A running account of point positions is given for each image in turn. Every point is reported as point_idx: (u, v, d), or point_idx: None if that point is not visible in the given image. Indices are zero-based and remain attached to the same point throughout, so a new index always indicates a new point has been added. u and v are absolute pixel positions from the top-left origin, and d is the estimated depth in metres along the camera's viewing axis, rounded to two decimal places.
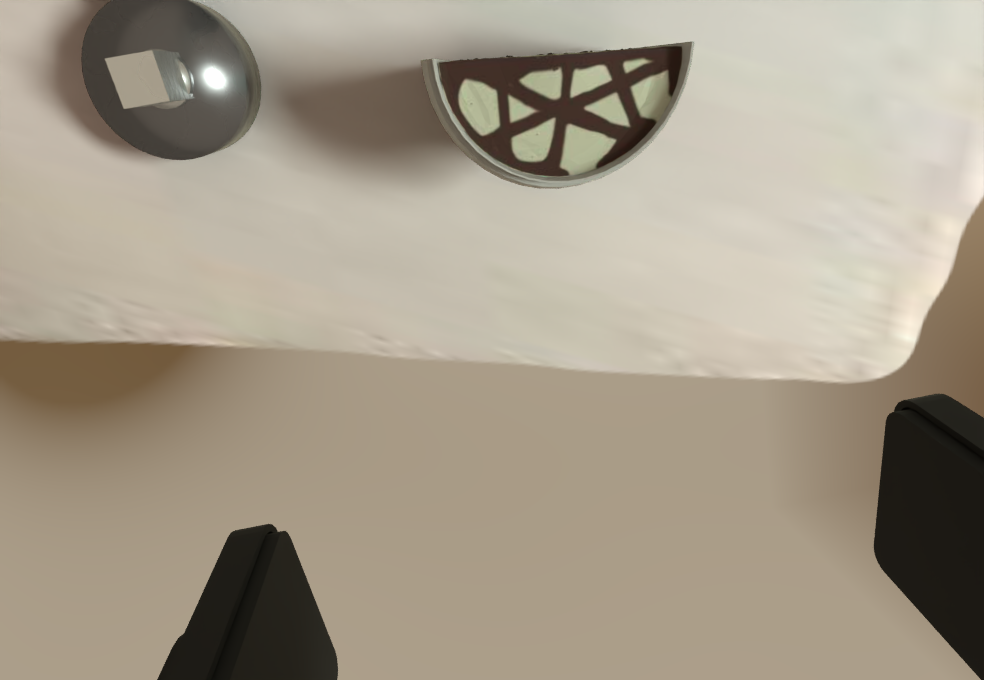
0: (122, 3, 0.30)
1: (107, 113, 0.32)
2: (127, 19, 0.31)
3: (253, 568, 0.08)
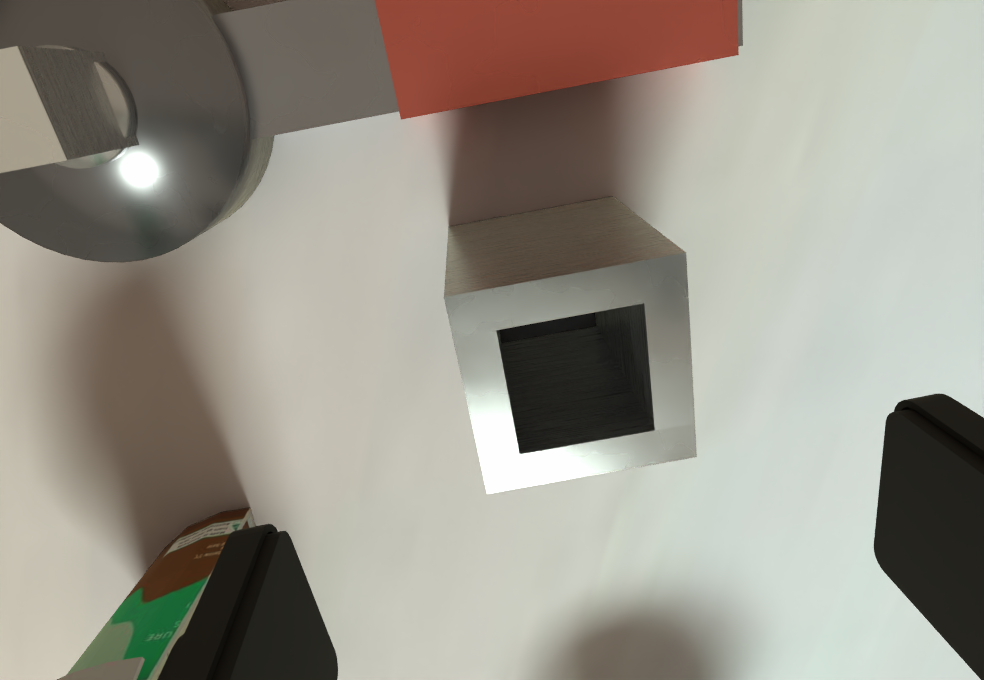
0: (208, 47, 0.15)
1: None
2: (180, 51, 0.15)
3: (253, 568, 0.08)
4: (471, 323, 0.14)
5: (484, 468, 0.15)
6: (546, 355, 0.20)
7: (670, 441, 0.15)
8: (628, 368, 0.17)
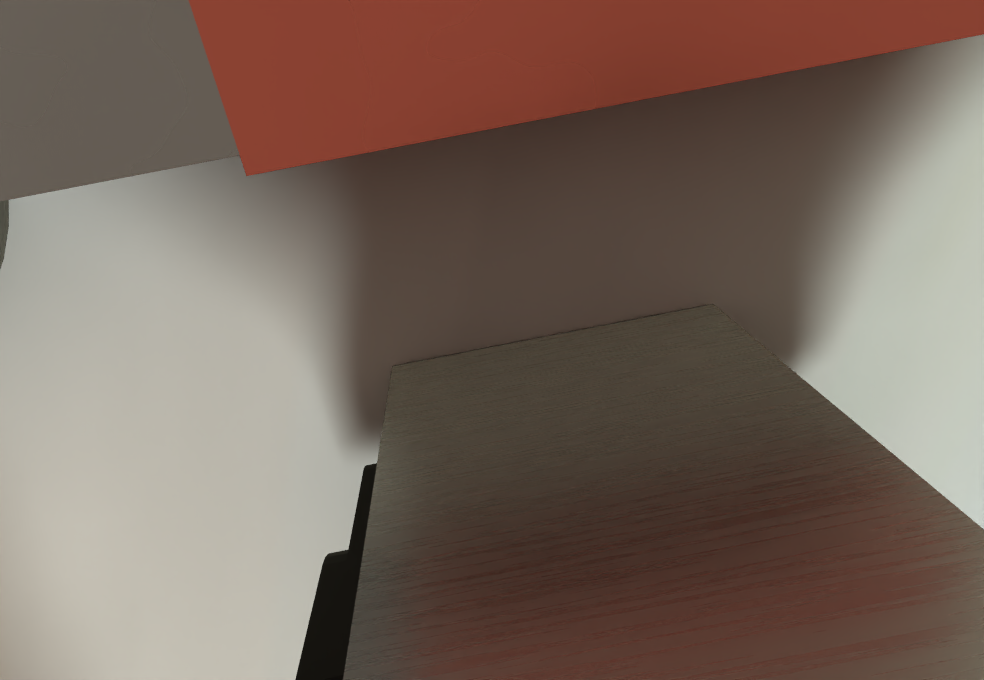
0: None
1: None
2: None
3: None
4: None
5: None
6: None
7: None
8: None
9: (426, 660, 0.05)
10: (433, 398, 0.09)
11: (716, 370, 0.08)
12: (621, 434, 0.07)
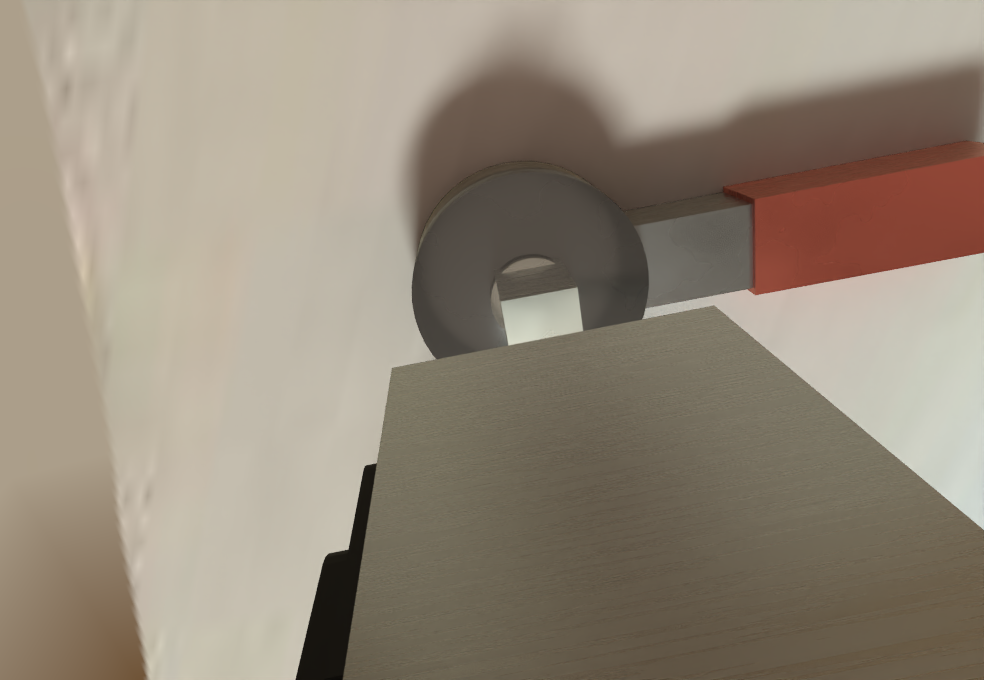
0: (635, 252, 0.20)
1: (481, 198, 0.19)
2: (614, 255, 0.20)
3: None
4: None
5: None
6: None
7: None
8: None
9: (425, 667, 0.05)
10: (433, 400, 0.09)
11: (718, 372, 0.08)
12: (622, 437, 0.07)
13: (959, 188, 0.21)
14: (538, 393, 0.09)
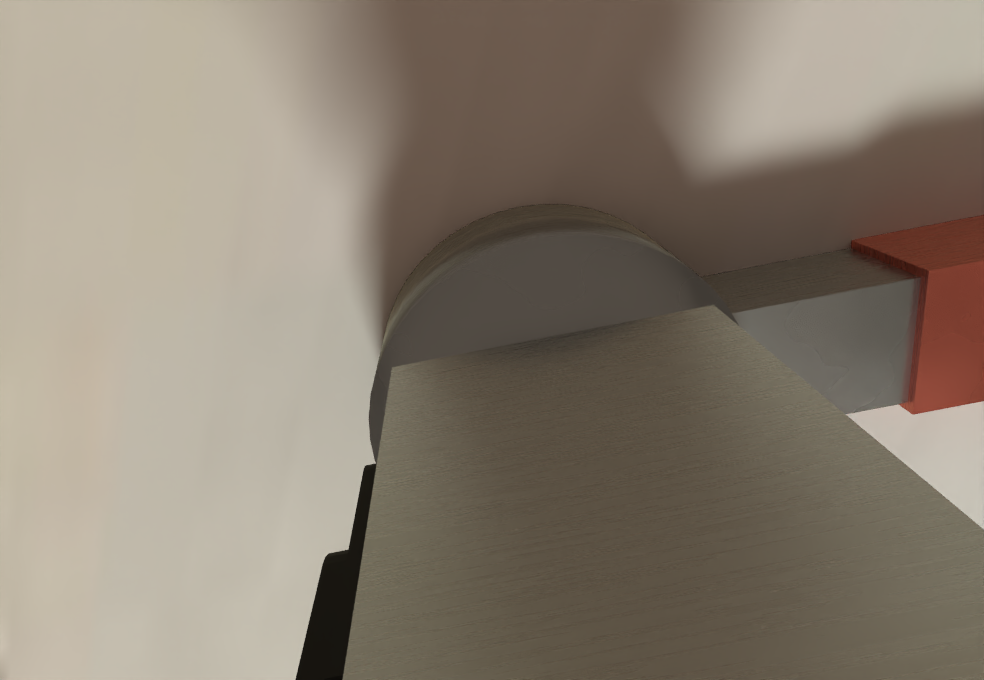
0: None
1: (482, 277, 0.11)
2: None
3: None
4: None
5: None
6: None
7: None
8: None
9: (425, 664, 0.05)
10: (433, 399, 0.09)
11: (717, 371, 0.08)
12: (621, 436, 0.07)
13: None
14: (538, 392, 0.09)
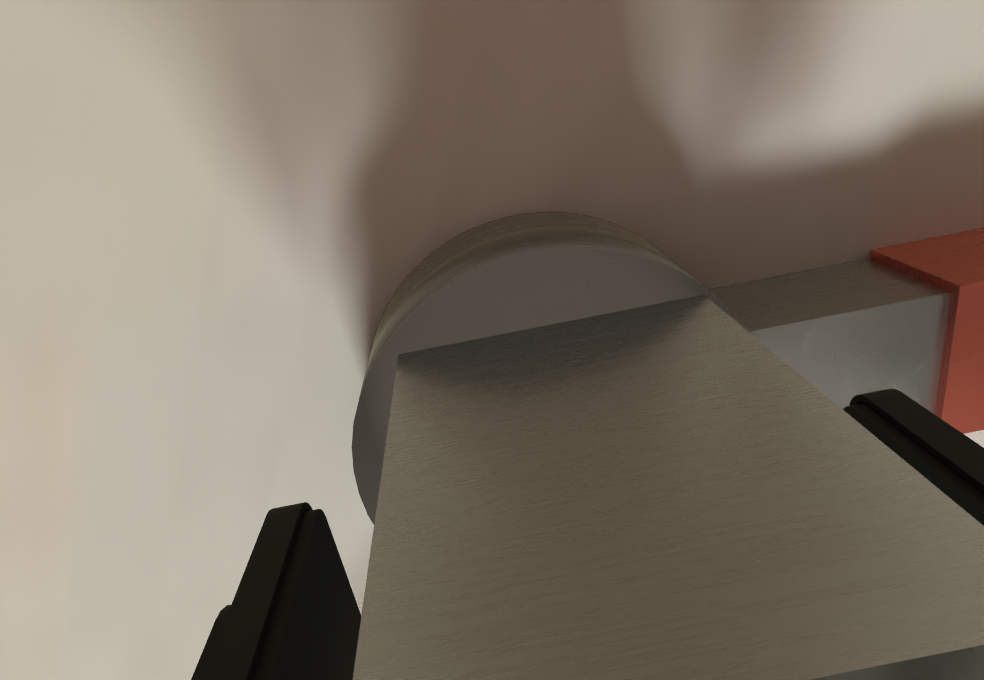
0: None
1: (475, 295, 0.10)
2: None
3: (294, 543, 0.08)
4: None
5: None
6: None
7: None
8: None
9: (435, 610, 0.05)
10: (437, 383, 0.09)
11: (704, 355, 0.09)
12: (614, 413, 0.08)
13: None
14: (536, 375, 0.09)
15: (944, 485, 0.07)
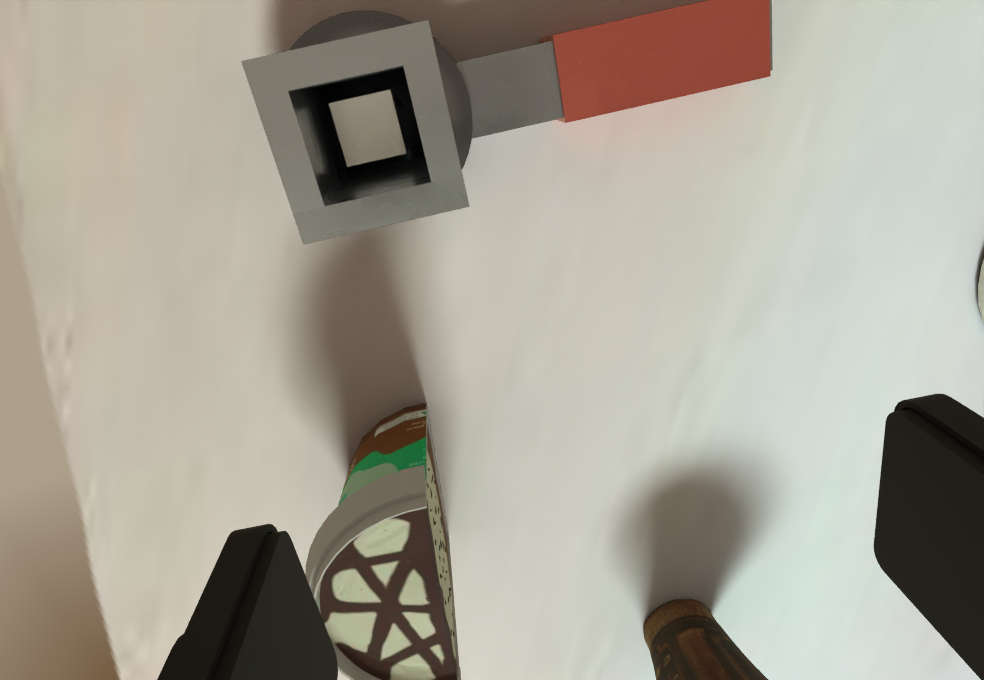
0: (456, 82, 0.25)
1: (320, 34, 0.23)
2: None
3: (253, 568, 0.08)
4: (267, 85, 0.18)
5: (297, 220, 0.19)
6: (378, 171, 0.24)
7: (445, 192, 0.19)
8: None
9: None
10: None
11: None
12: None
13: (720, 23, 0.25)
14: None
15: None
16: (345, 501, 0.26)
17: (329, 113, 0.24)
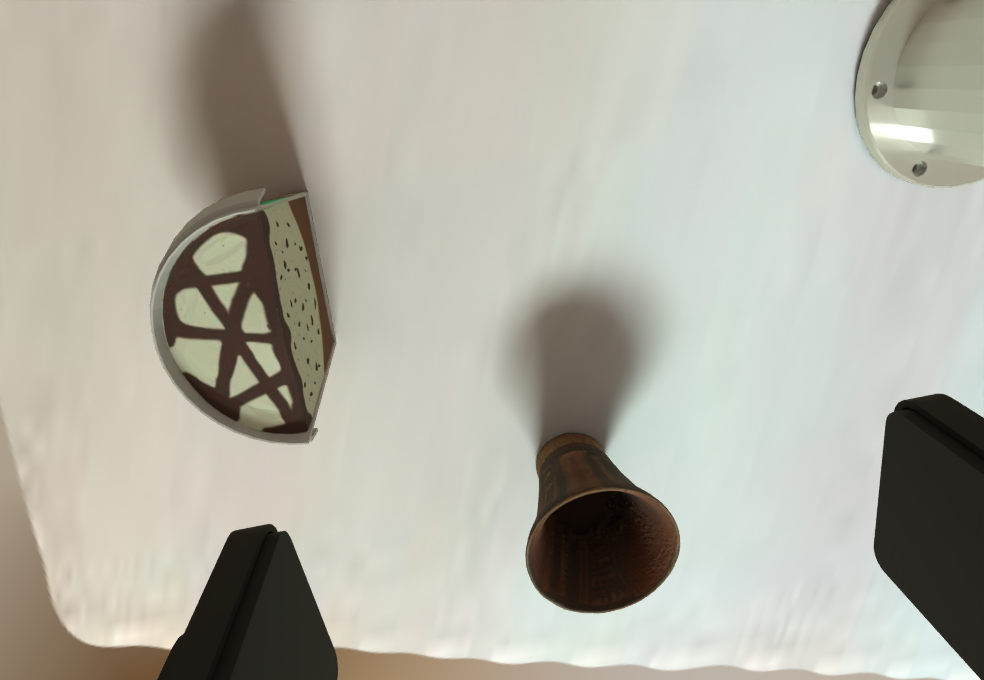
0: None
1: None
2: None
3: (253, 568, 0.08)
4: None
5: None
6: None
7: None
8: None
9: None
10: None
11: None
12: None
13: None
14: None
15: None
16: (189, 221, 0.27)
17: None
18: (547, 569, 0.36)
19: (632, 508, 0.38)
